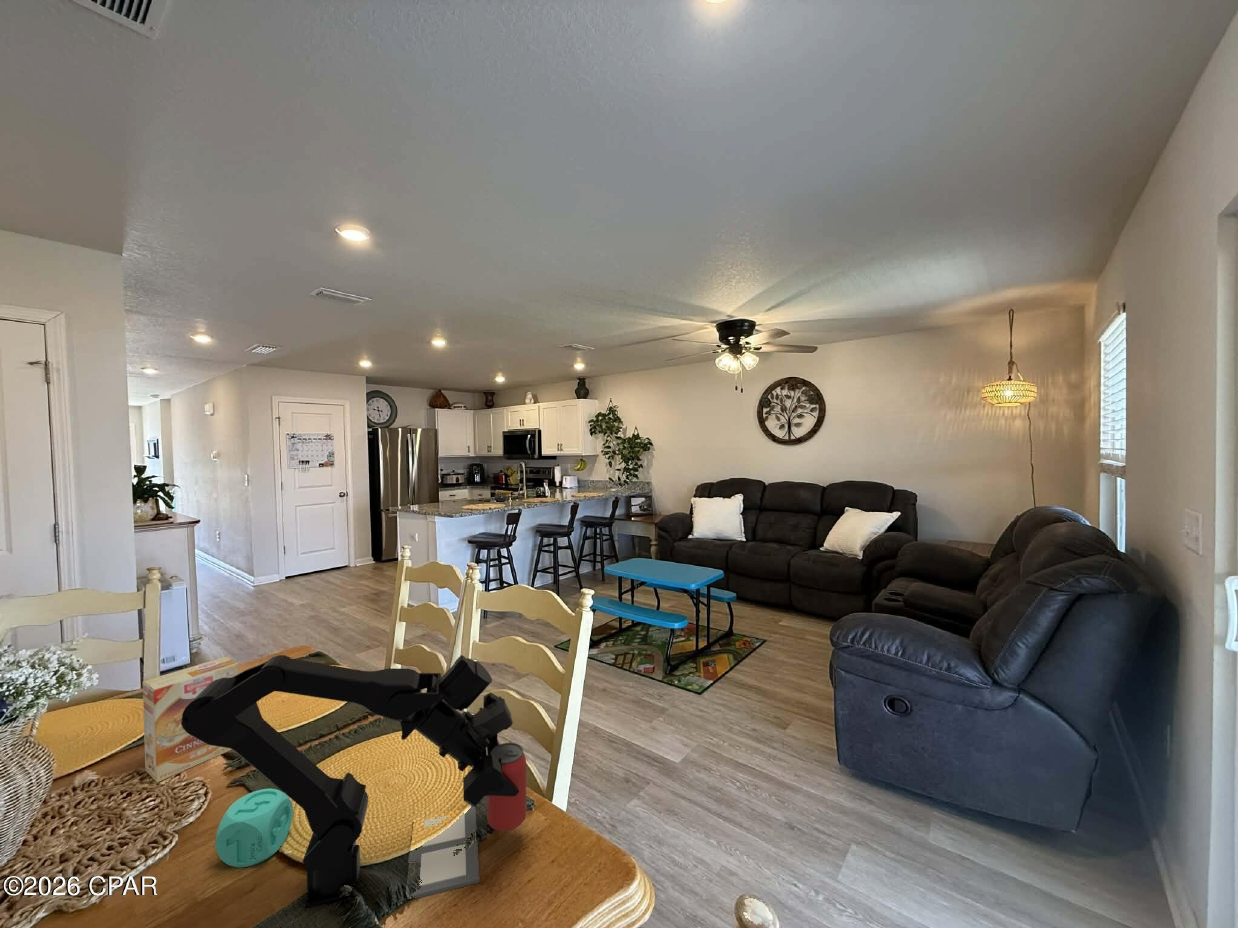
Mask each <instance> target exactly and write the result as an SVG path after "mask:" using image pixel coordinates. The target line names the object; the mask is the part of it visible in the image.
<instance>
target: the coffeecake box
mask: <svg viewBox="0 0 1238 928" xmlns="http://www.w3.org/2000/svg"><path fill="white" fill-rule="evenodd" d="M237 674H239V663H238V662H236V661H234V660H232V659H230V658H229V657H227V656H223V657H220V658H218V659H214V660H210V661H207V662H203V663H200V664H197V665H194V666H188V667H186V668H183V669H180V670H177V671H173V672H169V673H167V674H163V675H160V676H157V677H153V678H150V679H146V680H143V681H142V702H143V703H142V704H143V705H142V707H143V734H144V735H143V736H144V740H143V741H144V766H145V767H144V768H145V772H146V773H148V775H149V776H150V777H151V778H152V779H153V780H154V781H155V782H156V783H159V782H161V781H164V780H166V779H168V778H170V777H172V776H175V775H178V774H180V773H182V772H184V771H186V770H188V769H191V768H193V767H197V765H200V764H202V763H204V762H207V761H209V760H211V759H213V758H216V757H218V756H221V755H222V754H225V753H228V752H230V751H232V749H230V748H225V747H218V746H212V745H208V744H206V743H204V742H202V741H200V740H199V739H197V738H195V737H193V736H191V735H189V734H188V733H187V732H185V730H184V729H183V728H182V725H181V722H182V714H183V712H184V710H185V708H186V707H187V706H188V705H189V704H190V703H191V702H192V701H193V700H194V699H195V698H196V697H197V696H198V695H199V694H200V693H201V692H202V691H203V690H204V689H205V688H206V687H207V686H208V685H209V684H210V683H211V682H213V681H215V680H217V679H220V678H231V677H234V676H236V675H237Z"/></svg>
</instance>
